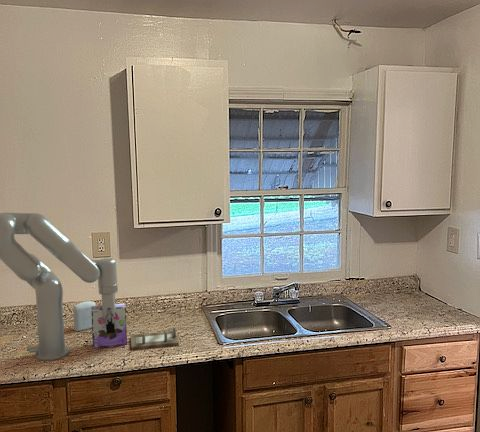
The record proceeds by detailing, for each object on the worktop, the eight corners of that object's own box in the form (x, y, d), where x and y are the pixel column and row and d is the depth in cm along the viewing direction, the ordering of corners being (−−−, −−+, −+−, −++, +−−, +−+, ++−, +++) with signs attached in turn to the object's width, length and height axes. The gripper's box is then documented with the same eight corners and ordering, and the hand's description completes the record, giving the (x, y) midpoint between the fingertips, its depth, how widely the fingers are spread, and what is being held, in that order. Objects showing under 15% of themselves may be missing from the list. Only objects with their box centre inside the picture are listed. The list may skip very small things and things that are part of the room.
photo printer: (93, 324, 228) (92, 298, 227) (98, 326, 225) (97, 300, 224) (72, 330, 221) (71, 303, 220) (77, 332, 218) (75, 305, 216)
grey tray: (131, 350, 197) (131, 337, 196) (130, 337, 210) (130, 326, 210) (178, 345, 202) (178, 333, 201) (174, 333, 215) (174, 322, 214)
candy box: (92, 348, 199) (90, 309, 197) (92, 343, 205) (91, 305, 203) (127, 345, 203) (125, 306, 201) (126, 340, 208) (125, 302, 206)
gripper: (99, 284, 208) (101, 323, 210) (97, 295, 192) (100, 337, 194) (117, 282, 210) (119, 321, 212) (117, 293, 193) (120, 335, 196)
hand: (110, 328), depth 203 cm, fingers open, 9 cm apart
